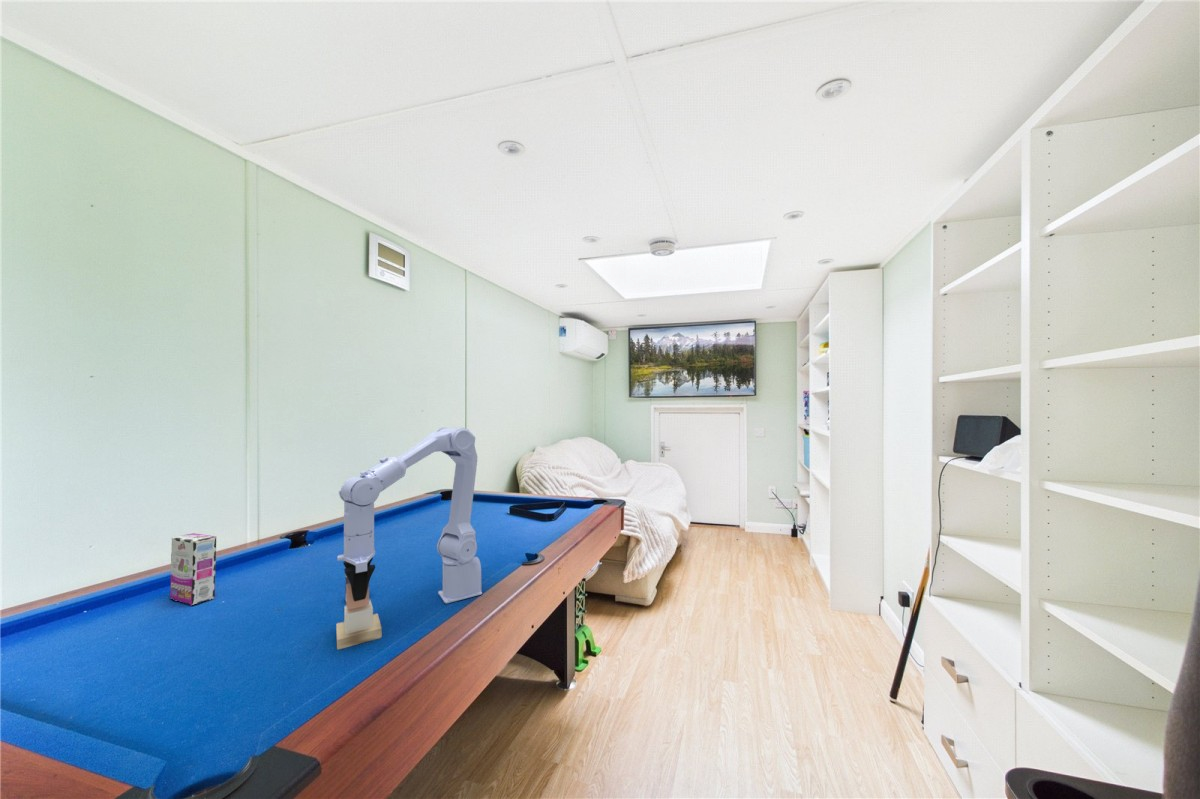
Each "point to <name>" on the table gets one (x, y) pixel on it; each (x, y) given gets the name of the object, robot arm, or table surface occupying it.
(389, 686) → the table surface
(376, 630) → the oak slab
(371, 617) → the cream cube
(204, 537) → the candy bar box
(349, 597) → the terracotta cube
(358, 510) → the robot arm
